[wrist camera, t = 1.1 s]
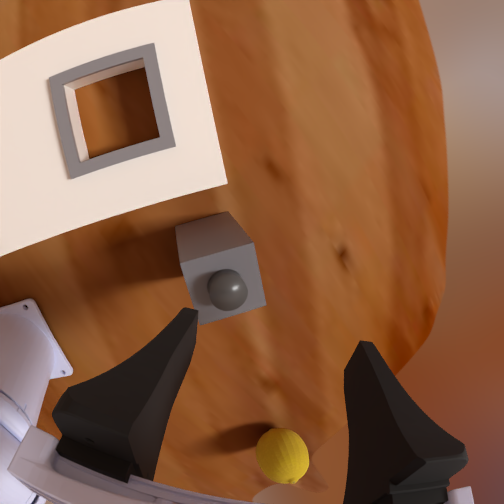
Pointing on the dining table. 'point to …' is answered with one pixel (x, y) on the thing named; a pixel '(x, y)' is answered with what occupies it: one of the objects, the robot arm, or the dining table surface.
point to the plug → (219, 267)
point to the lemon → (282, 455)
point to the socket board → (71, 134)
